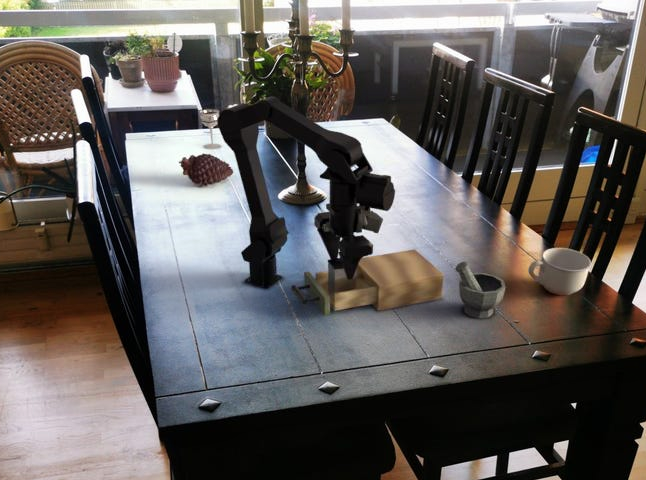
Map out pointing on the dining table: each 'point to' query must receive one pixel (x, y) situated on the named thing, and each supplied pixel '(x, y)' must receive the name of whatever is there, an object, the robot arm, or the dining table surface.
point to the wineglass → (210, 122)
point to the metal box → (339, 278)
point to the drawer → (338, 301)
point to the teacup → (561, 270)
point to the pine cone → (205, 169)
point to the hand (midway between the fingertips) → (341, 270)
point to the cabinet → (402, 278)
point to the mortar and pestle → (479, 291)
